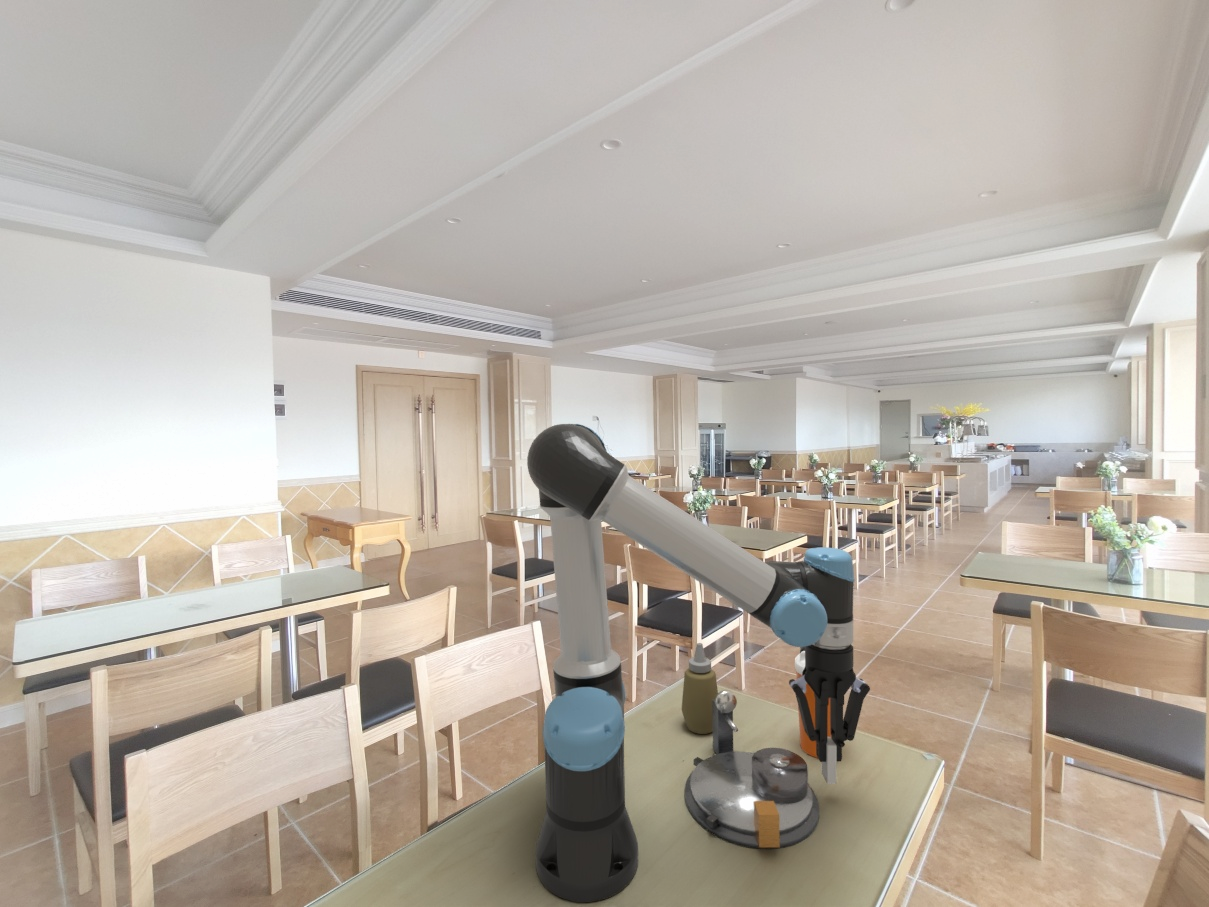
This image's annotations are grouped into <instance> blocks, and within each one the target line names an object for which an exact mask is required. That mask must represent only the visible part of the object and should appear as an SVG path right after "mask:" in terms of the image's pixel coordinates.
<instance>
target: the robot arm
mask: <svg viewBox="0 0 1209 907" xmlns="http://www.w3.org/2000/svg"><path fill="white" fill-rule="evenodd" d="M526 462H527V463H526V466H527V471H528V474H529V477H530V478H531V481H532V483H533V484H534V485H535V487H536V488H537V489H538V496H539V497H538V498H539V507H540V509H542V510H543V512H545V513H546V514H547V516H548V517H549V518H550V532H551V544H552V546H551V547H552V557H553V558H552V559H553V569H554V579H555V580H554V581H555V593H556V594H555V596H556V606H557V608H556V609H557V618H558V630H559V632H558V633H559V642H560V643H559V646H560V654H559V655H558V657H557V658H555V660H554V661H553V665H552V667H553V679H554V680H553V682H554V694H555V697H554V698H553V699H552V700H551V701H550V703H549V704H548V706H547V708H546V710H545V713H544V718H543V720H544V721H543V727H542V738H543V744H544V745H543V746H544V768H545V769H544V772H545V774H544V775H545V802H546V805H545V806H546V810H545V815H544V818H543V820H542V825H541V828H540V832H539V836H538V838H537V842H536V846H535V870H536V874H537V876H538V878H539V880H540V883H541V884H542V885H543V886H544V887H545V889H547V891H549V892H550V893H552V894H554V895H555V896H557V897H558V898H562V899H564V900H567V901H571V902H577V903H589V902H590V903H591V902H598V901H602V900H605V899H608V898H610V897H612V896H614V895H616V894H618V893H619V892H621V891H622V890H623V889H624V888H626V886H628V885H629V884H630V882H631V881H632V879H633V878H634V876H635V875H636V872H637V870H638V867H639V845H638V844H639V843H638V838H637V836H636V833H635V830H634V827H633V823H632V821H631V818H630V815H629V812H628V809H627V808H626V791H625V790H626V788H625V784H626V782H625V780H626V779H625V777H626V776H625V739H624V738H625V732H626V729H625V728H626V726H625V725H626V724H625V704H626V703H625V702H626V689H625V684H624V683H623V681H624V680H623V673H622V662H621V660H622V659H621V657H620V655H619V653H617V652H616V651H615V650H613V649H612V644H611V643H612V642H611V633H610V632H611V630H610V618H609V608H608V607H609V606H608V593H607V592H608V591H607V582H606V581H607V580H606V569H605V568H606V566H605V565H606V564H605V554H604V542H603V528H602V527H603V526H602V522H603V523H605V524H607V525H609V526H610V527H611V528H613V529H615V530H617V531H618V532H619V533H622V535H624V536H626V537H627V538H629V539H631V541H634V542H636V543H637V544H639V545H641V546H642V547H644V548H645V549H647V550H648V551H650V552H651V553H653V554H655V555H656V556H657V557H659V558H661V559H662V560H664V561H665V562H667V563H669V564H670V565H672V566H674V567H675V568H677V569H678V570H680V571H681V572H683V573H684V574H686V575H688V576H689V577H691V578H692V579H694V580H696V581H697V582H698V583H700V584H702V585H703V586H705V587H706V588H708V589H709V590H711V591H713V592H714V593H716V594H717V595H719V596H721V597H723V599H726V600H727V601H729V602H731V603H732V604H733V605H735V606H737V607H738V608H739V609H741V610H743V611H744V612H745V613H747V614H748V615H750V616H752V618H754V619H756V620H757V621H759V622H761V624H764V625H765V626H767V627H768V628H770V629H771V630H772V632H773V633H774V635H775V636H776V637H777V638H779V639H780V640H782V642H784V644H785V643H786V644H787V645H789V646H791V647H796V648H800V647H805V668H804V670H803V672H802V677H800V678H798V679H797V678H796V679H794V678H792V679H790V680H789V681H788V684H789V686H790V687H791V689H792V691H793V693H794V694H795V698H796V701H797V707H798V706H799V710H800V714H801V718H802V722H803V726H804V730H805V732H806V734H807V735H808V737H809V739H810V740H811V741H816V755H817V757H818V758H817V759H818V760H819V762H820V763H821V775H822V777H823V779H824V780H825V782H826V784H829V785H830V784H831V785H832V784H833V785H835V784H837V783H838V782H837V781H838V780H837V763H838V762H842V760H843V747H845V745H846V743H845V742H846V741H849V742H851V741H853V740H854V739H855V735H856V731H857V727H858V723H859V720H860V716H861V712H862V708H863V703H864V700H865V698H866V697H867V695H868V693H869V692H870V690H871V686H869V684H868V683H866V681H864V680H863V678H858V676H857V675H856V673H855V671H854V646H853V643H854V583H855V574H854V565H853V557H852V555H851V554H850V553H849V552H848V551H846V550H844V549H840V548H837V547H825V546H824V547H822V546H821V547H812V548H808V549H806V551H804V557H803V560H801V561H791V562H789V561H788V562H787V561H785V562H784V561H783V562H782V561H776V562H775V561H773V562H772V561H767V562H766V561H763V560H761V559H760V558H758V557H756V556H755V555H753V554H752V553H750V552H749V551H747V550H746V549H744V548H743V547H741V546H740V545H738V544H736V543H735V542H733V541H731V540H730V539H728V538H727V537H726V536H724V535H722V534H721V533H719V532H718V531H716V530H715V529H713V528H711V527H710V526H708V525H707V524H705V523H703V521H700V520H699V519H698V518H696V517H694V516H693V515H691V514H690V513H688V512H686V511H685V510H683V509H682V508H680V507H678V506H677V505H676V504H674V503H673V502H671V501H669V500H667V499H666V498H664V497H662V496H661V495H660V494H658V493H657V492H655V491H653V489H650V488H649V487H647V486H646V485H644V484H643V483H642V482H640V481H638V480H636V479H634V478H633V477H632V476H630V474H629V472H628V468H627V465H626V464H624V463H623V462H621V461H620V460H619V459H617V458H615V457H614V456H612V455H611V454H610V453H609V452H608V451H607V447H605V443H604V441H603V440H602V438H601V436H600V435H599V434H597V432H595V431H594V430H593V429H592V428H590V427H588V426H586V425H584V424H579V423H560V424H554V425H552V426H550V427H546V429H544V430H542V432H541V431H540V433H539V434H537V436H536V437H535V439H533V441H532V443H531V445H530V447H529V449H528V452H527V460H526ZM807 683H808V685H809V686H810V687H811V689H812V690H813V691H814V696H815V729H814V725H813V721H812V717H811V713H810V709H809V705H808V701H807V698H806V696H805V694H804V693H806V684H807ZM849 689H850V693H849V696H848V700H847V702H846V703H847V704H846V707H845V712H844V706H845V695H846V694H847V692H848V691H849ZM829 698H830V734H831V736H832V738H831V737H827V714H828V704H829Z"/></svg>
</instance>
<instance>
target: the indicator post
mask: <svg viewBox="0 0 1209 907" xmlns="http://www.w3.org/2000/svg"><path fill="white" fill-rule="evenodd" d="M737 701H738V700H737V697H736V696H735V694H734V693H733V692H732V691H731V690H727V689H724V690H721V691H718V694H717V696H716V698H715V699H712V716H713V731H712V750H713V751H714V752H715V755H716V754H720V753H726V752H734V733H738V731H739V728H738V727H737V726H736V724H735V723H734V713H733V712H734V710H735V709H736V707H737V703H738V702H737Z"/></svg>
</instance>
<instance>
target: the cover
mask: <svg viewBox="0 0 1209 907" xmlns="http://www.w3.org/2000/svg"><path fill="white" fill-rule="evenodd" d="M753 753H754V755H753V756H752V784H753V787H754V789H755V790H756V792H757V793H759V794H760V795H761V796H762V797H764V798H766V799H768V800H770V801H774V802H777V803H783V804H791V803H797V802H799V801H801V800H803V799H804V798H805V797H806V796H807V793H808V784H809V782H808V780H809V779H808V776H809V775H808V774H809V773H808V772H809V771H808V769H809V768H808V764H807V762H806V761H805V759H804V758H803V757H802V756H800V754H798V753H796V752H795V751H794V752H793V751H792V750H788V749H785V748H780V747H766V748H761V749H758V750H756V751H755V752H753Z"/></svg>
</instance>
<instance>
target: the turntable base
mask: <svg viewBox="0 0 1209 907" xmlns="http://www.w3.org/2000/svg"><path fill="white" fill-rule="evenodd" d="M693 771H694V769H693V770H692V771H691V773H690V774H689V775H688V777H687V779H686V782H685V785H684V800H685V804H686V807H687V809H688V811H689V813H690V815H691V816H692V818H693V820H695V821H696V822H697V823H698V824H699V825H700V826H701V827H702V828H703V829H704V830H706V831H707V832H709V834H712V835H713V836H715V837H717V838H718V839H721V840H723V841H725V842H727V843H731V844H734V845H737V846H741V847H744V848H748V849H756V850H776V849H777V850H779V849H784V848H788V847H792V846H794V845H797V844H799V843H801V842H803V841H804V840H806V839H807V838H809V837H810V836H811V835H813V833H814V831H815V830H816V829H817V826H818V824H819V820H820V805H819V804H820V803H819V800H818V796H817V794H816V793H815V792H814V790H813V788H812V787H811V786H810V788H811V791H812V795H813V809H812V813H811V815H810V817H809V819H808V820H807V821H806V822H805V823H804V824H803V825H802V826H801V827H799V828H797V829H796V830H793V831H791V832H788V833H785V834H781V835H780V847H759V845H758V842H757V839H756V836H755V835H749V834H744V833H739V832H736V831H733V830H730V829H728V828H725V827H723V826H721V825H719V824H718V825H716V826H715V827H714V828H711V827H709V826H708V825H707V824H706V819H707V818H708V817H707V816H706V815H705V814H703V812H702V811H701V810H700V809H699V808H698V807H697V805H696V804H695V802H694V800H693V798H692V795H691V783H690V781H691V775H692V772H693Z"/></svg>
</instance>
